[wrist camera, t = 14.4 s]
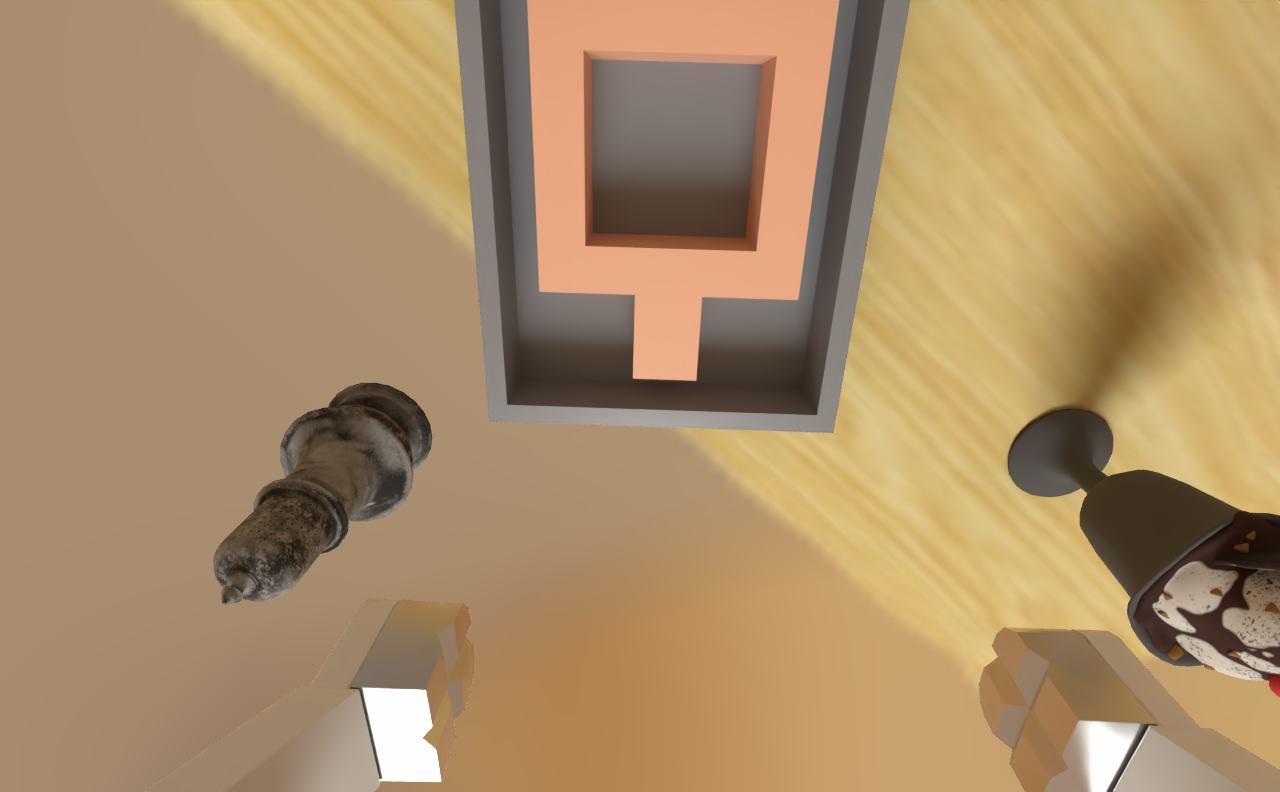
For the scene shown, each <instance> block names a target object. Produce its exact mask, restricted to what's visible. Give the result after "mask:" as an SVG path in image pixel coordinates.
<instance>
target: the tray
mask: <svg viewBox="0 0 1280 792" xmlns="http://www.w3.org/2000/svg"><path fill="white" fill-rule="evenodd" d="M454 3H455V15H456V27H457V38H458V50H459V62H460V74H461V86H462V98H463V110H464V122H465V134H466V146H467V158H468V170H469V182H470V194H471V206H472V218H473V230H474V242H475V254H476V266H477V278H478V290H479V302H480V313H481V326H482V337H483V350H484V362H485V374H486V385H487V397H488V409H489V421H496V422H499V421H500V422H525V423H555V424H585V425H587V424H588V425H614V426H645V427H674V428H703V429H733V430H763V431H793V432H822V433H833V431H834V426H835V420H836V415H837V409H838V403H839V398H840V392H841V386H842V381H843V375H844V370H845V364H846V358H847V353H848V347H849V341H850V336H851V330H852V325H853V319H854V313H855V308H856V302H857V296H858V291H859V285H860V279H861V274H862V268H863V263H864V257H865V251H866V246H867V240H868V234H869V229H870V223H871V218H872V212H873V206H874V201H875V195H876V189H877V184H878V178H879V173H880V167H881V161H882V156H883V150H884V144H885V139H886V133H887V128H888V122H889V116H890V111H891V105H892V99H893V94H894V88H895V83H896V77H897V71H898V66H899V60H900V54H901V49H902V43H903V38H904V32H905V26H906V21H907V15H908V9H909V4H910V0H839V7H838V14H837V21H836V29H835V36H834V43H833V50H832V58H831V65H830V72H829V80H828V87H827V94H826V101H825V109H824V116H823V123H822V131H821V138H820V145H819V152H818V160H817V167H816V174H815V182H814V189H813V196H812V203H811V211H810V218H809V225H808V233H807V240H806V247H805V254H804V262H803V269H802V276H801V284H800V291H799V298H798V300H779V299H748V298H717V297H702V307H701V321H700V335H699V350H698V364H697V378H696V381H689V380H659V379H633V353H634V311H635V295H623V294H592V293H560V292H539V273H538V249H537V224H536V200H535V176H534V152H533V128H532V104H531V80H530V56H529V32H528V8H527V0H454ZM761 70H762V64H736V63H701V62H667V61H632V60H598V59H592V184H593V233H603V234H635V235H667V236H699V237H731V238H745V236H746V226H747V215H748V205H749V195H750V184H751V174H752V163H753V153H754V143H755V132H756V122H757V112H758V101H759V91H760V81H761Z"/></svg>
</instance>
